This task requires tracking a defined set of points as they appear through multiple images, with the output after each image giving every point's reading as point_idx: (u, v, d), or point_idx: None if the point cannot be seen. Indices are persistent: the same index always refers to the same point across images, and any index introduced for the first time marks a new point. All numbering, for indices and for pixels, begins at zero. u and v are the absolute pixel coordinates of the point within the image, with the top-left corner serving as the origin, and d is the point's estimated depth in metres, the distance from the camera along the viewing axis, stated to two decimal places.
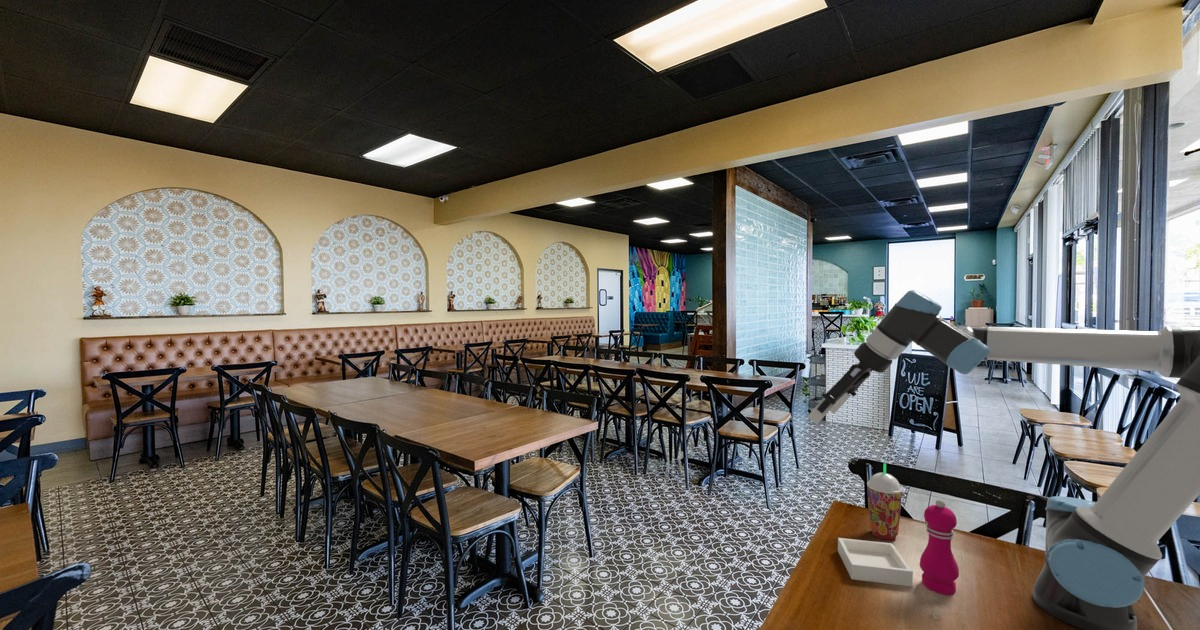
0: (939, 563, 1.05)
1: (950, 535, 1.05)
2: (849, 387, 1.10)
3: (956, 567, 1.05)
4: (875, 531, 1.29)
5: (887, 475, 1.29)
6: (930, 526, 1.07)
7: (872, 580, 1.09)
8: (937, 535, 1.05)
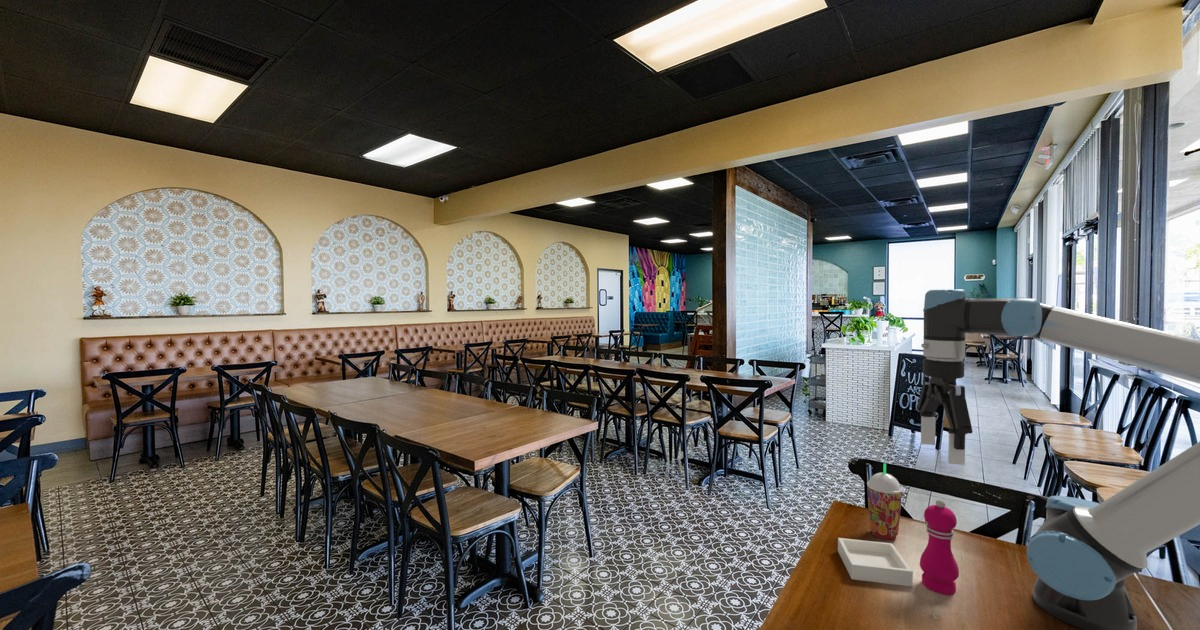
0: (939, 563, 1.05)
1: (950, 535, 1.05)
2: None
3: (956, 567, 1.05)
4: (875, 531, 1.29)
5: (887, 475, 1.29)
6: (930, 526, 1.07)
7: (872, 580, 1.09)
8: (937, 535, 1.05)
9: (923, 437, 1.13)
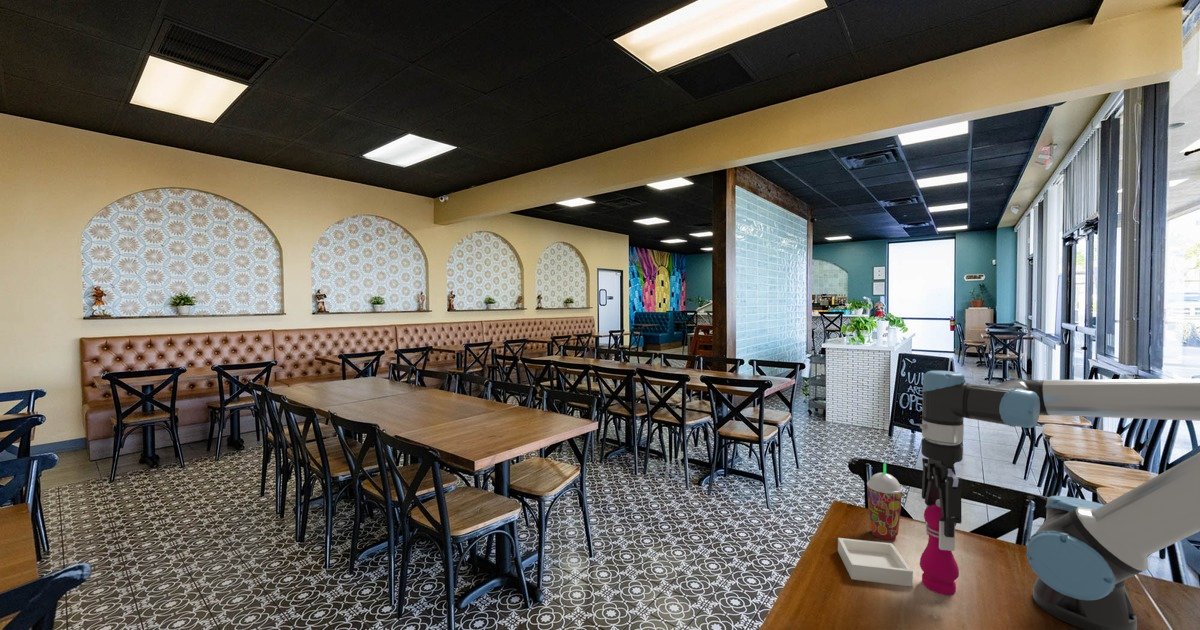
0: (939, 563, 1.05)
1: None
2: None
3: (956, 567, 1.05)
4: (875, 531, 1.29)
5: (887, 475, 1.29)
6: (930, 526, 1.07)
7: (872, 580, 1.09)
8: (937, 535, 1.05)
9: None
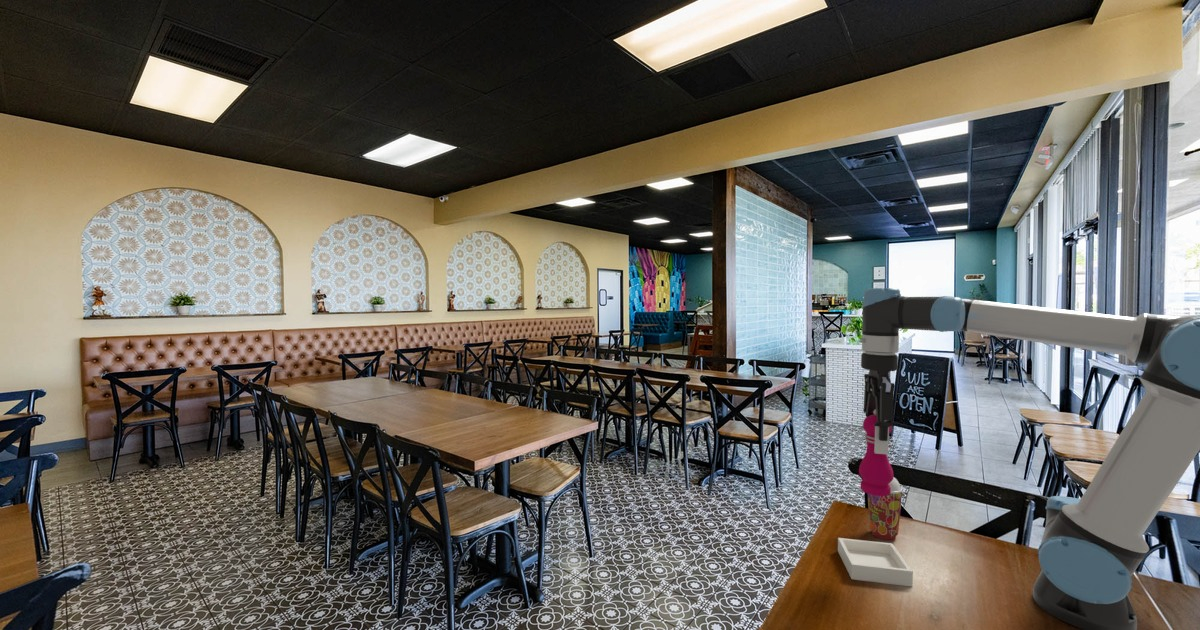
0: (875, 467, 1.12)
1: None
2: None
3: (890, 470, 1.11)
4: (875, 531, 1.29)
5: None
6: (868, 434, 1.14)
7: (872, 580, 1.09)
8: (873, 441, 1.12)
9: None
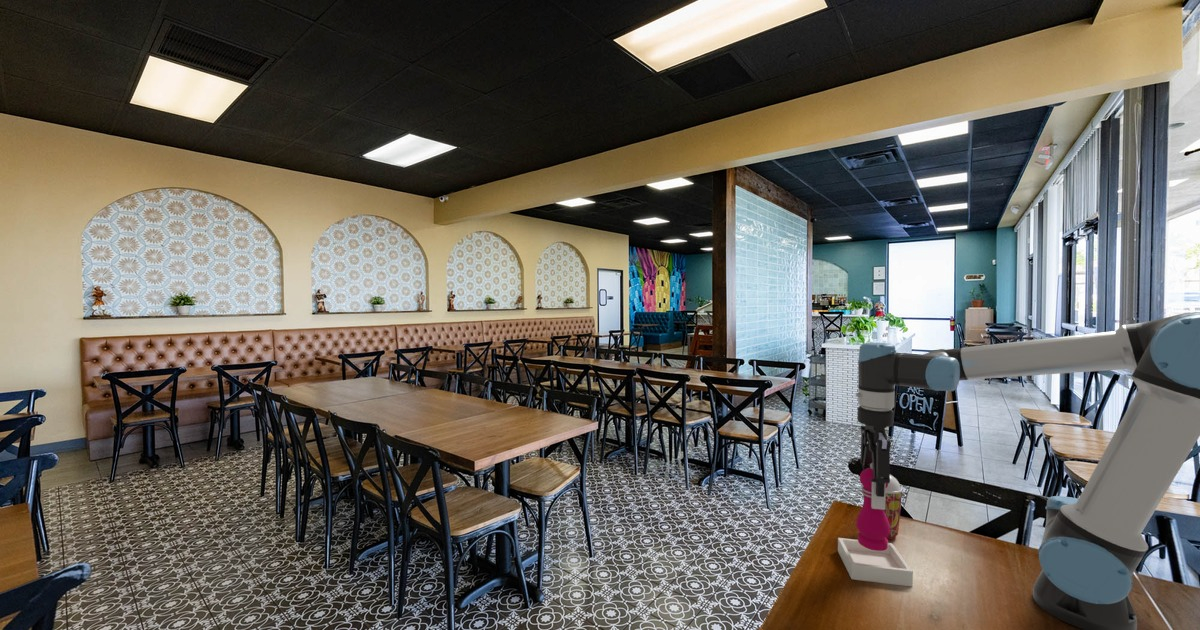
0: (872, 521, 1.12)
1: None
2: None
3: (887, 525, 1.12)
4: None
5: None
6: (864, 487, 1.14)
7: (872, 580, 1.09)
8: (870, 495, 1.13)
9: None
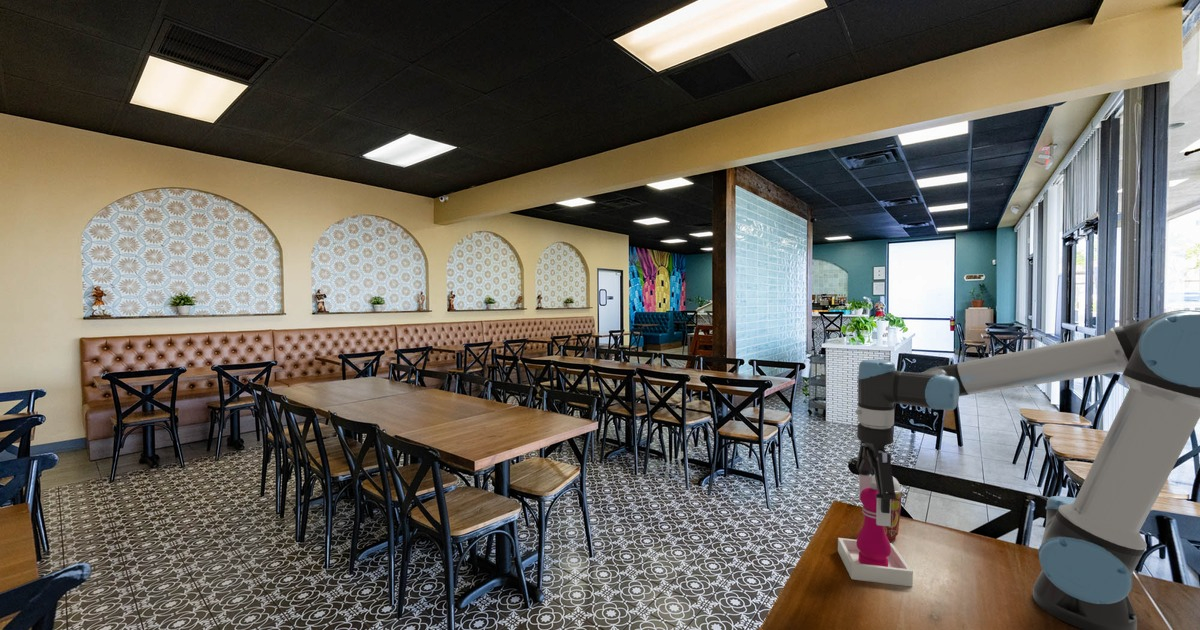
0: (872, 541, 1.12)
1: None
2: None
3: (888, 545, 1.12)
4: None
5: None
6: (865, 507, 1.14)
7: (872, 580, 1.09)
8: (870, 515, 1.13)
9: None
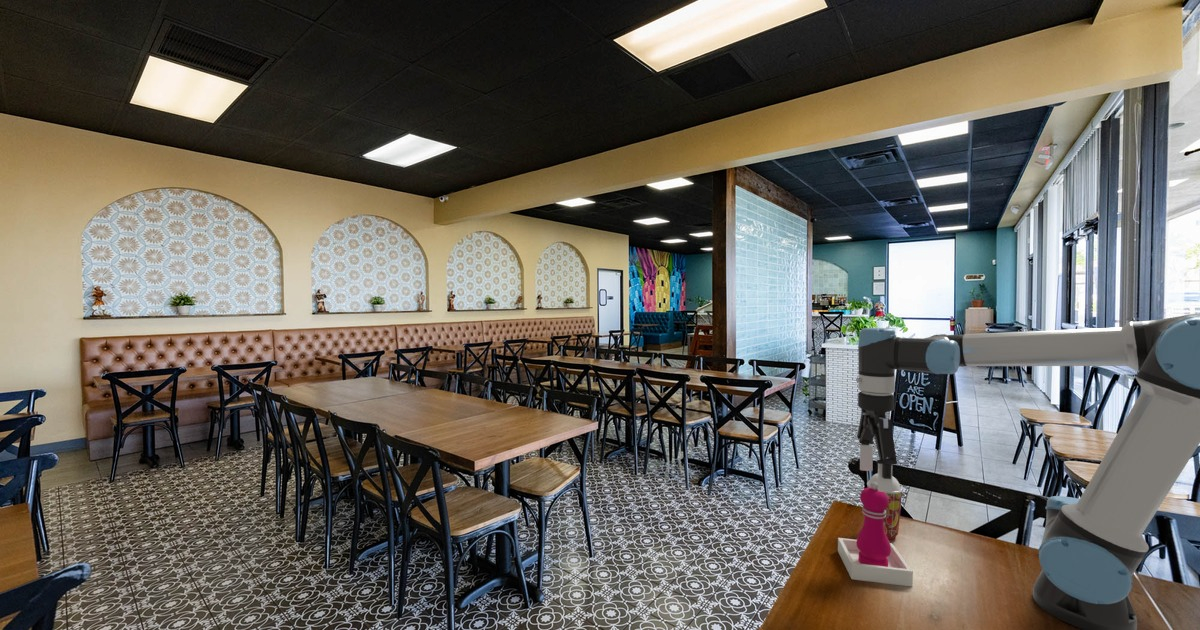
0: (872, 541, 1.12)
1: (882, 515, 1.12)
2: None
3: (888, 545, 1.12)
4: None
5: None
6: (865, 507, 1.14)
7: (872, 580, 1.09)
8: (870, 515, 1.13)
9: (861, 464, 1.21)
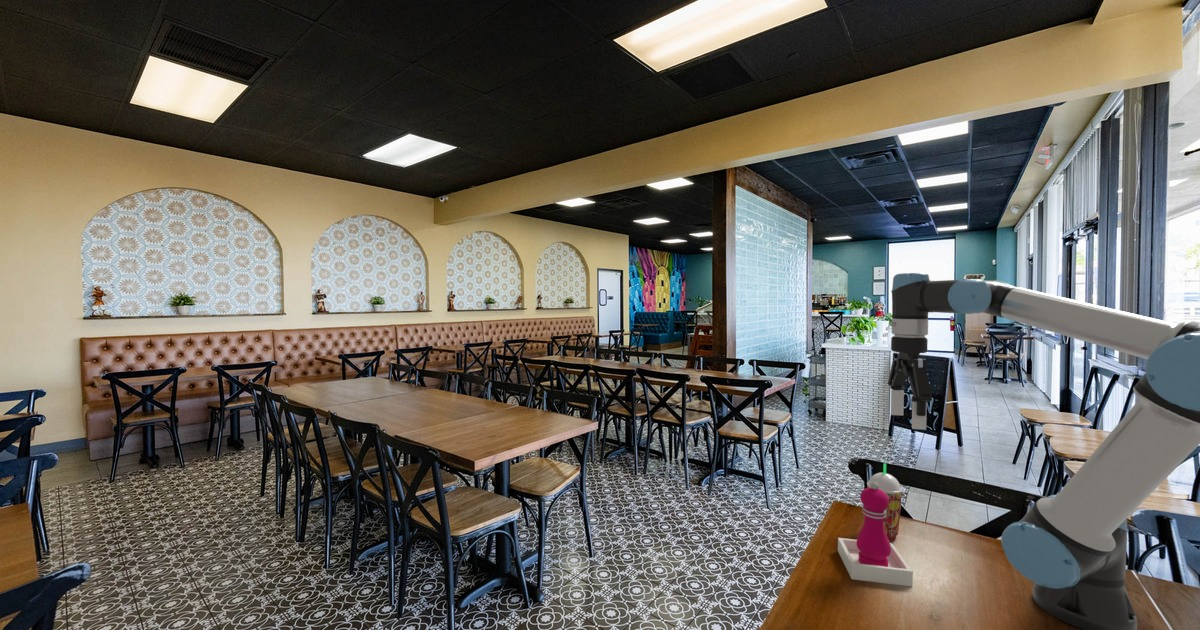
0: (872, 541, 1.12)
1: (882, 515, 1.12)
2: None
3: (888, 545, 1.12)
4: None
5: (887, 475, 1.29)
6: (865, 507, 1.14)
7: (872, 580, 1.09)
8: (870, 515, 1.13)
9: (893, 408, 1.24)
